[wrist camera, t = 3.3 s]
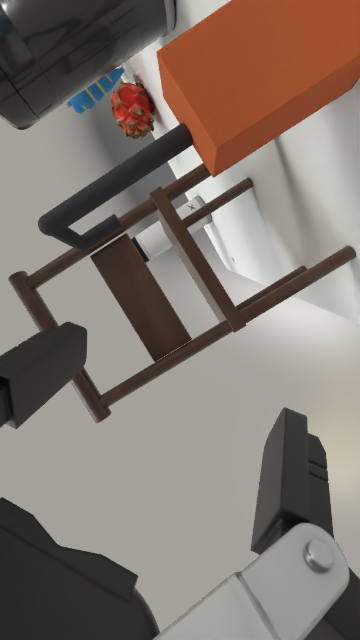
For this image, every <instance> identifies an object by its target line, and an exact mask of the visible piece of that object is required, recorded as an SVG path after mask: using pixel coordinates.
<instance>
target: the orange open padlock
mask: <svg viewBox="0 0 360 640" xmlns="http://www.w3.org/2000/svg"><path fill="white" fill-rule="evenodd" d="M157 58H158V64H159V71H160V77H161V84H162V90H163V97H164V99H165V101H166V102H167V104H168V106H169V107H170V109H171V110H172V112H173V114H174V115H175V117H176V119H177V120H178V122H179V123H180V125H178V126H177V127H175V128H174V129H172V130H171V131H169V132H168V133H166V134H165V135H163V136H162V137H160V138H159V139H157V140H156V141H154V142H153V143H151V144H150V145H148V146H147V147H145V148H144V149H142V150H141V151H139V152H138V153H136V154H135V155H133V156H132V157H130V158H129V159H127V160H126V161H124V162H123V163H122V164H120V165H118V166H117V167H115V168H114V169H112V170H111V171H109V172H108V173H106V174H105V175H103V176H102V177H100V178H99V179H97V180H96V181H94V182H93V183H91V184H90V185H88V186H87V187H85V188H84V189H82V190H81V191H79V192H78V193H76V194H75V195H73V196H72V197H70V198H69V199H67V200H66V201H64V202H63V203H61V204H60V205H58V206H56V207H55V208H53V209H52V210H51V211H49V212H48V213H46V214H45V215H43V216H42V217H41V218H40V219H39V221H38V226H39V229H40V231H41V232H42V233H43V234H45V235H48V236H53V237H54V238H56V239H58V240H60V241H62V242H64V243H66V244H68V245H70V246H72V247H73V248H75V249H77V250H79V251H84V250H86V249H88V248H89V247H91V246H92V245H94V244H95V243H97V242H98V241H100V240H102V239H103V238H105V237H106V236H108V235H109V234H111V233H112V232H114V231H115V230H117V229H119V228H120V227H122V225H121V223H120V221H119V220H118V218H117V217H116V215H114V214H113V215H112V216H110V217H109V218H107V219H106V220H104V221H103V222H101V223H100V224H98V225H96V226H95V227H93V228H92V229H90V230H89V231H87V232H86V233H84V234H83V235H79V234H78V233H76V232H74V231H73V230H71V229H70V228H68V226H70V225H71V224H73V223H74V222H76V221H77V220H79V219H80V218H82V217H83V216H85V215H87V214H88V213H90V212H91V211H93V210H94V209H96V208H97V207H99V206H100V205H102V204H103V203H105V202H106V201H108V200H109V199H111V198H112V197H114V196H115V195H117V194H118V193H120V192H121V191H123V190H125V189H126V188H128V187H129V186H131V185H132V184H134V183H135V182H137V181H138V180H140V179H141V178H143V177H144V176H146V175H147V174H149V173H150V172H152V171H153V170H155V169H157V168H158V167H160V166H161V165H163V164H164V163H166V162H167V161H169V160H170V159H172V158H173V157H175V156H176V155H178V154H179V153H181V152H182V151H184V150H185V149H187V148H188V147H190V146H192V144H193V146H194V148H195V149H196V151H197V152H198V154H199V156H200V157H201V159H202V161H203V162H204V164H205V165H206V167H207V169H208V170H209V172H210V174H211V175H212V177H213V178H214V177H215V176H217V175H218V174H220V173H222V172H223V171H225V170H226V169H228V168H229V167H231V166H232V165H234V164H236V163H237V162H239V161H240V160H242V159H243V158H245V157H246V156H248V155H249V154H251V153H253V152H254V151H256V150H257V149H259V148H260V147H262V146H263V145H265V144H267V143H268V142H270V141H271V140H273V139H274V138H276V137H277V136H279V135H280V134H282V133H284V132H285V131H287V130H288V129H290V128H291V127H293V126H294V125H296V124H297V123H299V122H301V121H302V120H304V119H305V118H307V117H308V116H310V115H311V114H313V113H315V112H316V111H318V110H319V109H321V108H322V107H324V106H325V105H327V104H328V103H330V102H332V101H333V100H335V99H336V98H338V97H339V96H341V95H342V94H344V93H346V92H347V91H349V90H350V89H351V88H352V87H353V86H354V84H355V83H356V81H357V80H358V78H359V77H360V0H231V1H230V2H228V3H227V4H225V5H224V6H223V7H221V8H220V9H218V10H217V11H215V12H214V13H212V14H211V15H209V16H208V17H207V18H205V19H204V20H202V21H201V22H199V23H198V24H196V25H195V26H193V27H192V28H191V29H189V30H188V31H186V32H185V33H183V34H182V35H180V36H179V37H177V38H176V39H175V40H173V41H172V42H170V43H169V44H167V45H166V46H164V47H163V48H161V49H160V50H159V51H157Z"/></svg>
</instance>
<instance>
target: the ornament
mask: <svg viewBox="0 0 360 640" xmlns="http://www.w3.org/2000/svg"><path fill="white" fill-rule="evenodd" d="M123 72H124V70H123V69H122V68H118V69H113V70H112V71H110V72H109V73H108V74H106V75H105V76H103V77H102V78H100V79H99V80H97V81H96V82H95V83H93V84H92V85H90V86H89V87H87V88H86V89H84V90H83V91H81V92H80V93H79V94H77V95H76V96H74V97H73V98H71V99H70V100H69V101H68V102H66V105H67V107H70V106H71V105H72V106H73V108H74V109H75V111H76V112H77V113H80V114H81V113H83V112H84V111H85V109H91V108H92V107H93V106H94V105H95V103H96V102H97V101H100V100H101V99H102V97H103V96H104V94H105V93H107V92H109V91H110V90H111V89H112V88H113V86H114V85H115V83H116V82H117V81H118V79H119V78H120V76H121V75H122V74H123Z"/></svg>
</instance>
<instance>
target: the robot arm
mask: <svg viewBox="0 0 360 640" xmlns="http://www.w3.org/2000/svg"><path fill="white" fill-rule="evenodd" d="M174 24H175V9H174V0H0V117H1V118H3V119H4V120H5V121H7V122H8V123H9V124H10V125H12V126H13V127H15V128H17V129H19V130H24V129H27V128H29V127H31V126H32V125H34V124H35V123H37V122H38V121H40V118H41V119H42V118H44V117H45V116H47V115H48V114H50V113H51V112H53V111H54V110H56V109H57V108H58V107H60V106H61V105H63V103H65V102H67V101H68V100H70V99H71V98H73V97H74V96H76V95H77V94H79V93H80V92H81V91H83V90H84V89H86V88H87V87H89V86H90V85H92V84H93V83H95V82H96V81H97V80H99V79H100V78H102V77H103V76H105V75H106V74H108V73H109V72H110V71H112V70H113V69H115V68H116V67H118V66H119V65H121V64H122V63H124V62H125V61H126V60H128V59H129V58H131V57H132V56H134V55H135V54H137V53H138V52H140V51H141V50H143V49H144V48H146V47H147V46H148V45H150V44H151V43H153V42H154V41H156V40H157V39H158V38H160V37H161V36H165V35H167V34H168V33H170V32H171V31H172V30H173V28H174ZM86 355H87V330H86V328H84V327H81V326H79V325H76V324H73V323H71V322H66V323H64V324H62V325H61V326H59V327H58V328H56V329H49V330H46V331H42V332H39V333H37V334H35V335H34V336H32V337H31V338H29V339H28V340H27V341H24V342H22V343H21V344H19V345H18V347H17V346H16V347H14V348H13V349H11V350H10V351H8V352H6V353H4V354H3V355H1V356H0V427H1V426H3V425H4V424H7V425H9V426H11V427H13V428H15V429H17V428H18V427H19V426H20V425H21V424H23V423H24V422H25V421H26V420H27V419H28V418H29V417H30V416H31V415H32V414H34V413H35V412H36V411H37V410H38V409H39V408H40V407H41V406H43V405H44V404H45V403H46V402H47V401H48V400H49V399H50V398H51V397H52V396H53V395H55V394H56V393H57V392H58V391H59V390H60V389H61V388H62V387H64V386H65V385H66V384H67V383H68V382H69V381H70V380H71V379H72V378H74V377H75V376H76V375H77V374H78V373H79V372H80V371H81V370H82V368H83V367H84V365H85V362H86ZM251 551H253V552H255V553H258V554H259V555H260V556H259V557H258V558H257V559H255V560H254V561H253V562H252V563H250V564H249V565H248V566H247V567H246V568H244V569H243V570H242V571H240V572H235V573H233V574H232V575H231V576H229V577H228V578H226V579H225V580H224V581H223V582H222V583H220V584H219V585H218V586H217V587H215V588H214V589H213V590H212V591H211V592H209V593H208V594H207V595H206V596H205V597H203V598H202V599H201V600H200V601H199V602H197V603H196V604H195V605H194V606H193V607H191V608H190V609H189V610H188V611H187V612H185V613H184V614H183V615H181V616H180V617H179V618H178V619H177V620H176V621H174V622H173V623H172V624H171V625H169V626H168V627H167V628H166V629H165V630H163V631H162V632H161V633H160V631H159V628H158V625H157V623H156V620H155V618H154V616H153V614H152V612H151V610H150V608H149V606H148V604H147V603H146V602H145V600H144V598H143V597H142V596H141V594H140V593H139V592H138V591H137V590H136V588H135V585H136V582H137V578H138V576H137V575H136V574H134V573H133V572H131V571H129V570H127V569H126V568H124V567H122V566H120V565H118V564H117V563H115V562H114V561H112V560H110V559H108V558H107V557H105V556H103V555H101V554H96V553H91V552H86V551H81V550H76V549H72V548H67V547H62V546H59V545H58V544H57V543H56V542H55V541H54V540H53V539H52V538H51V537H50V535H49V534H48V533H47V532H46V530H45V529H44V528H43V527H42V526H41V524H40V523H39V522H38V521H37V520H36V518H35V517H34V516H33V515H32V514H31V513H29V512H27V511H25V510H24V509H22V508H20V507H18V506H17V505H15V504H13V503H12V502H10V501H8V500H6V499H5V498H3V497H2V498H1V499H0V640H360V579H359V578H358V577H357V576H356V575H355V574H354V572H353V571H352V570H351V569H350V568H349V566H348V564H347V561H346V558H345V556H344V554H343V551H342V550H341V548H340V547H339V545H338V544H337V542H335V539H334V535H333V526H332V515H331V504H330V493H329V483H328V472H327V460H326V452H325V450H324V448H323V446H322V444H321V442H320V440H319V438H318V437H316V436H314V435H312V434H309V433H308V431H307V417H306V416H305V415H303V414H300V413H298V412H295V411H293V410H290V409H288V408H285V407H284V408H283V409H282V411H281V413H280V415H279V417H278V418H277V420H276V422H275V424H274V426H273V428H272V430H271V432H270V434H269V436H268V438H267V441H266V444H265V447H264V452H263V459H262V467H261V474H260V482H259V490H258V497H257V505H256V513H255V520H254V528H253V536H252V543H251Z"/></svg>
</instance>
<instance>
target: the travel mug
mask: <svg viewBox="0 0 360 640" xmlns="http://www.w3.org/2000/svg"><path fill="white" fill-rule="evenodd" d="M204 205H206V204H205V203H204V201H203V200H202V199H201V198H200V197H199V196H197V197H195V198H194V199H192V200H190V201H189V202H188V203H186V204H184V205H183V206H181V207H180V208H178V209H177V210H176V212H177V213H178V215H179V216H180V218H181V220H182V219H184V218H185V217H187V216H189V215H190V214H192V213H193V212H195V211H196V210H198V209H200V208H201V207H203V206H204ZM211 220H212V218H211V214H209V215H207V216H206V217H204V218H203V219H201V220H199V221H198V222H196V223H195V224H193V225H192V226H190V227H188V228H187V229H188V231H189V233H190V234H192V233H194V232H195V231H197V230H198V229H200V228H202V227H203V226H205V224H208V223H209V222H211ZM131 241H132V242H133V244H134V246H135V247H136V249H137V250H138V252H139V254H140V255H141V257H142V259H143V260H144V262H145V263H146V262H147V261H149V260H151V259H152V258H154V257H156V256H158V255H159V254H161V253H162V252H164V251H165V250H167V249H169V248H170V247H172V246H173V245H172V244H171V242H170V240H169V239H168V237H167V236H166V234H165V232H164V230H163V227H162V225H161V222H160V220H159V221H158V222H156V223H155V224H153V225H152V226H150V227H149V228H147V229H145V230H144V231H142V232H141V233H139V234H138V236H137V235H136V236H135V237H134V238H133V239H131Z"/></svg>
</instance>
